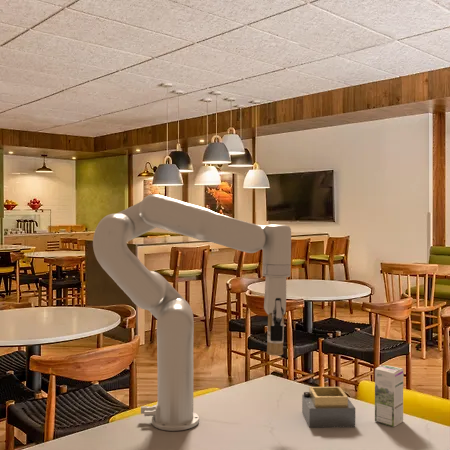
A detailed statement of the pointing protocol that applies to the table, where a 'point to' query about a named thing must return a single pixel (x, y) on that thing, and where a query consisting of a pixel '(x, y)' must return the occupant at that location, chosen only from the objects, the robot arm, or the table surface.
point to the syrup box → (389, 395)
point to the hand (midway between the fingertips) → (275, 337)
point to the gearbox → (327, 408)
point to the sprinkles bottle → (274, 346)
